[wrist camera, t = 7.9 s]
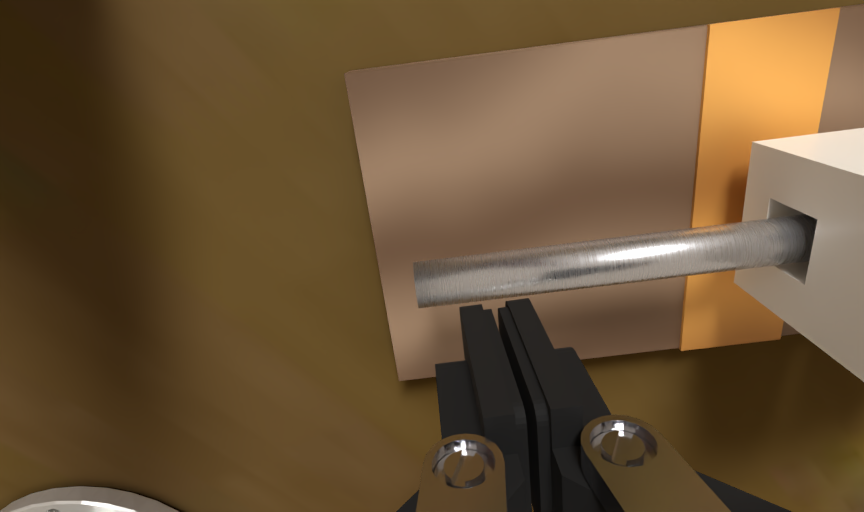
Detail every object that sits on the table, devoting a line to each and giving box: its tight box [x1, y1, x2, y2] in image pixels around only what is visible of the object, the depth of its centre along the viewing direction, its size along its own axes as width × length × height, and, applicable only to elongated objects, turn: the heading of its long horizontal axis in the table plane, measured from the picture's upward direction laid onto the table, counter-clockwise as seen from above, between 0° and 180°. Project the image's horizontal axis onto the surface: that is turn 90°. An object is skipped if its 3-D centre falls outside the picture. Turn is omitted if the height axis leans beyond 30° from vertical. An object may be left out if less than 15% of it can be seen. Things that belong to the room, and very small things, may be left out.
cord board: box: [344, 4, 864, 381], centre depth 19 cm, size 12×24×2 cm, turn 97°
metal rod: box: [413, 214, 817, 309], centre depth 15 cm, size 1×16×1 cm, turn 97°
